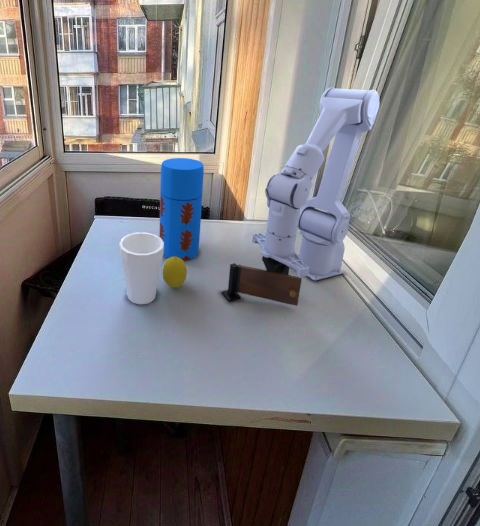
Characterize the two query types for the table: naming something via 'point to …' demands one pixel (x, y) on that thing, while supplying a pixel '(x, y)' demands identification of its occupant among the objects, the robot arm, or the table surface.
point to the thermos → (181, 206)
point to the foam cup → (141, 265)
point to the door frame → (231, 293)
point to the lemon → (174, 272)
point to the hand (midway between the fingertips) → (273, 286)
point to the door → (268, 285)
